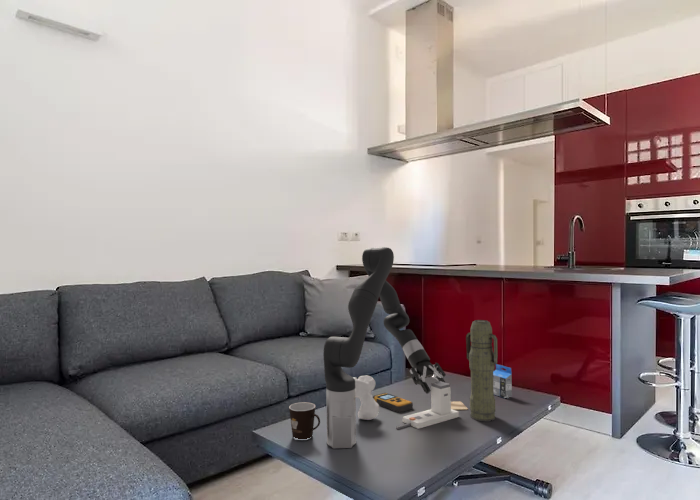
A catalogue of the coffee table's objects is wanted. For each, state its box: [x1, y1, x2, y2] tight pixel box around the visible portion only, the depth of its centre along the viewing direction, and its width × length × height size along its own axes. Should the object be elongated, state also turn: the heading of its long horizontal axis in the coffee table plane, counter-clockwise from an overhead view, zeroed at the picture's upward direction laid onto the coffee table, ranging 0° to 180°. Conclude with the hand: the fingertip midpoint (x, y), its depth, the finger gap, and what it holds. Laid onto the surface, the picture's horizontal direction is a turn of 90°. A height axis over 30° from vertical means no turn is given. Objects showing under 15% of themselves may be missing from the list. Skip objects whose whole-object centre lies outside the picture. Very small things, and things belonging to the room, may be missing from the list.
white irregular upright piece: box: [352, 374, 380, 421], centre depth 162 cm, size 10×11×15 cm
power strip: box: [395, 408, 460, 430], centre depth 159 cm, size 8×26×2 cm, turn 124°
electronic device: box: [372, 392, 414, 413], centre depth 176 cm, size 8×16×3 cm, turn 37°
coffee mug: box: [288, 401, 321, 439], centre depth 145 cm, size 12×9×10 cm
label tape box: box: [493, 363, 513, 399], centre depth 188 cm, size 9×4×12 cm, turn 28°
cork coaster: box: [451, 400, 469, 411], centre depth 175 cm, size 9×9×1 cm
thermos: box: [465, 319, 499, 422], centre depth 163 cm, size 9×12×35 cm
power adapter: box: [430, 381, 452, 416], centre depth 164 cm, size 5×5×12 cm
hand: (437, 390), depth 165 cm, fingers open, 8 cm apart
